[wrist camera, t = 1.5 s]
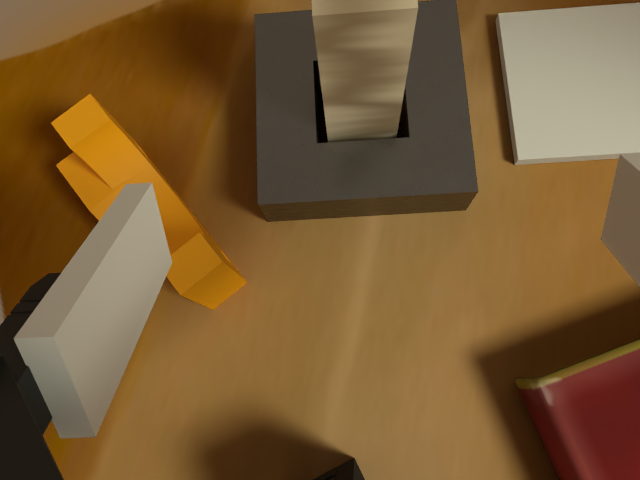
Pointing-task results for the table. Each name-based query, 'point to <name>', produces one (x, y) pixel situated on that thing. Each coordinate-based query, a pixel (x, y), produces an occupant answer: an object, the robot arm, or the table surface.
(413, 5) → the birch peg
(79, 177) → the pipe clamp
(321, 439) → the table surface
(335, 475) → the black rectangular block
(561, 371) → the hardcover book
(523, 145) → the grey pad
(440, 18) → the socket block
